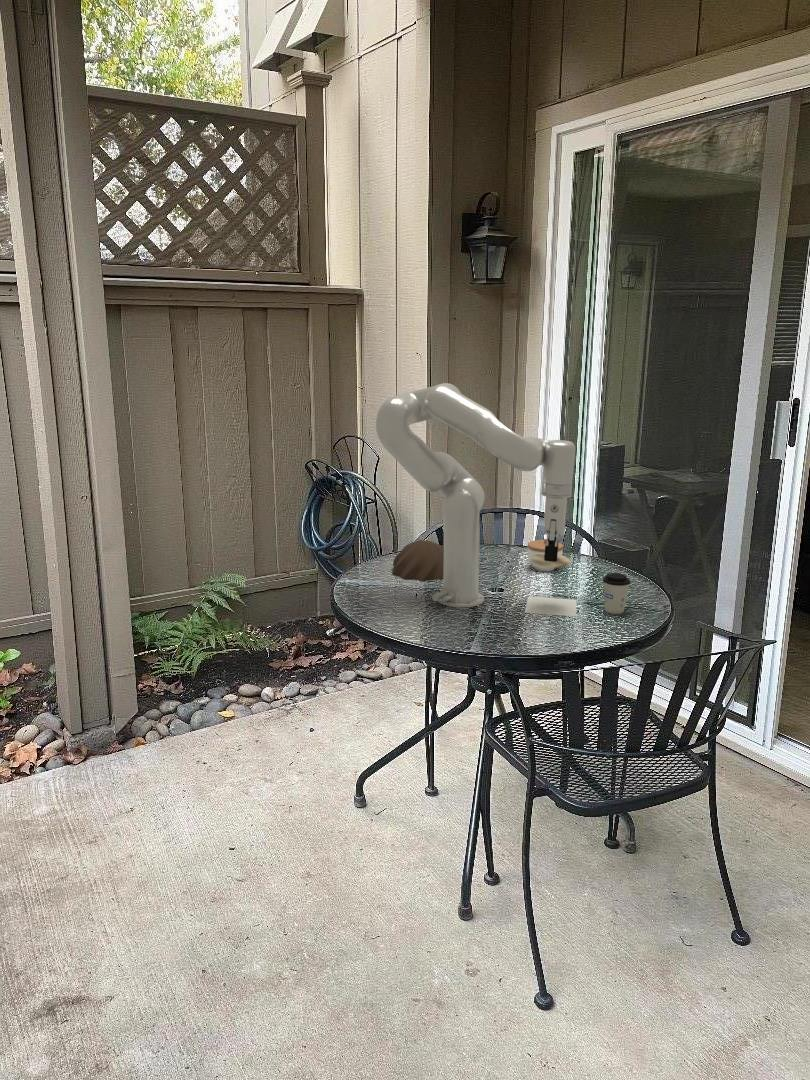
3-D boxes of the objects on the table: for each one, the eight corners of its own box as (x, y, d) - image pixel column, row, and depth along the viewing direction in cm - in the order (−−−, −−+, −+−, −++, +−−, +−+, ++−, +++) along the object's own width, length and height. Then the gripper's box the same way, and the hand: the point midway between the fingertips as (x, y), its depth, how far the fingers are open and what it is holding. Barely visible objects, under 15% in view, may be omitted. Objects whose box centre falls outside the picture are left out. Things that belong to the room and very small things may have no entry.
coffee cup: (624, 608, 205) (627, 571, 203) (631, 617, 198) (634, 580, 196) (597, 607, 205) (600, 571, 203) (603, 617, 199) (606, 579, 196)
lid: (556, 570, 196) (558, 547, 194) (523, 561, 202) (525, 540, 201) (577, 562, 203) (579, 540, 201) (544, 554, 209) (546, 533, 208)
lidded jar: (524, 563, 245) (526, 534, 243) (559, 563, 245) (560, 534, 242) (528, 573, 235) (530, 543, 232) (564, 573, 234) (566, 543, 232)
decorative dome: (378, 572, 236) (377, 540, 234) (421, 559, 250) (422, 529, 248) (425, 586, 224) (425, 552, 221) (469, 571, 238) (469, 539, 235)
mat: (575, 618, 198) (576, 616, 198) (524, 614, 201) (524, 612, 201) (576, 601, 210) (576, 599, 210) (528, 598, 213) (528, 596, 213)
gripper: (570, 497, 189) (564, 569, 194) (572, 484, 204) (566, 551, 209) (539, 494, 190) (534, 566, 195) (543, 482, 206) (538, 549, 211)
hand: (550, 558), depth 202 cm, fingers closed on lid, 3 cm apart
